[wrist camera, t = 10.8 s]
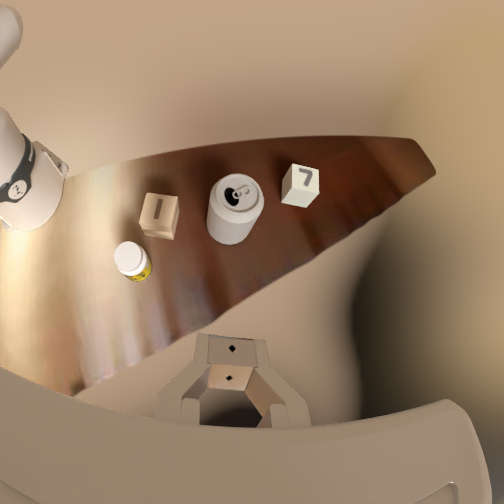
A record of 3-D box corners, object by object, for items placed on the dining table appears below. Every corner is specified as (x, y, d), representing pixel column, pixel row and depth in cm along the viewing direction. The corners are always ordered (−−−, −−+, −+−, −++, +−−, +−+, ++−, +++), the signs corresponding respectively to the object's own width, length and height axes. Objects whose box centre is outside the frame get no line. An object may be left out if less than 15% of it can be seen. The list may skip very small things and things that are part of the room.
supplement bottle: (125, 283, 40) (110, 273, 32) (125, 255, 41) (111, 239, 34) (153, 282, 41) (144, 271, 33) (152, 253, 43) (143, 237, 35)
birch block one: (145, 235, 43) (138, 221, 37) (151, 208, 45) (146, 191, 39) (173, 239, 44) (170, 226, 38) (179, 212, 45) (177, 196, 40)
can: (200, 211, 46) (203, 175, 35) (240, 200, 48) (255, 164, 37) (214, 251, 45) (221, 225, 34) (255, 238, 47) (275, 210, 36)
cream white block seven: (281, 202, 50) (292, 186, 44) (282, 180, 51) (292, 162, 46) (306, 207, 51) (319, 193, 45) (306, 185, 52) (318, 169, 46)
